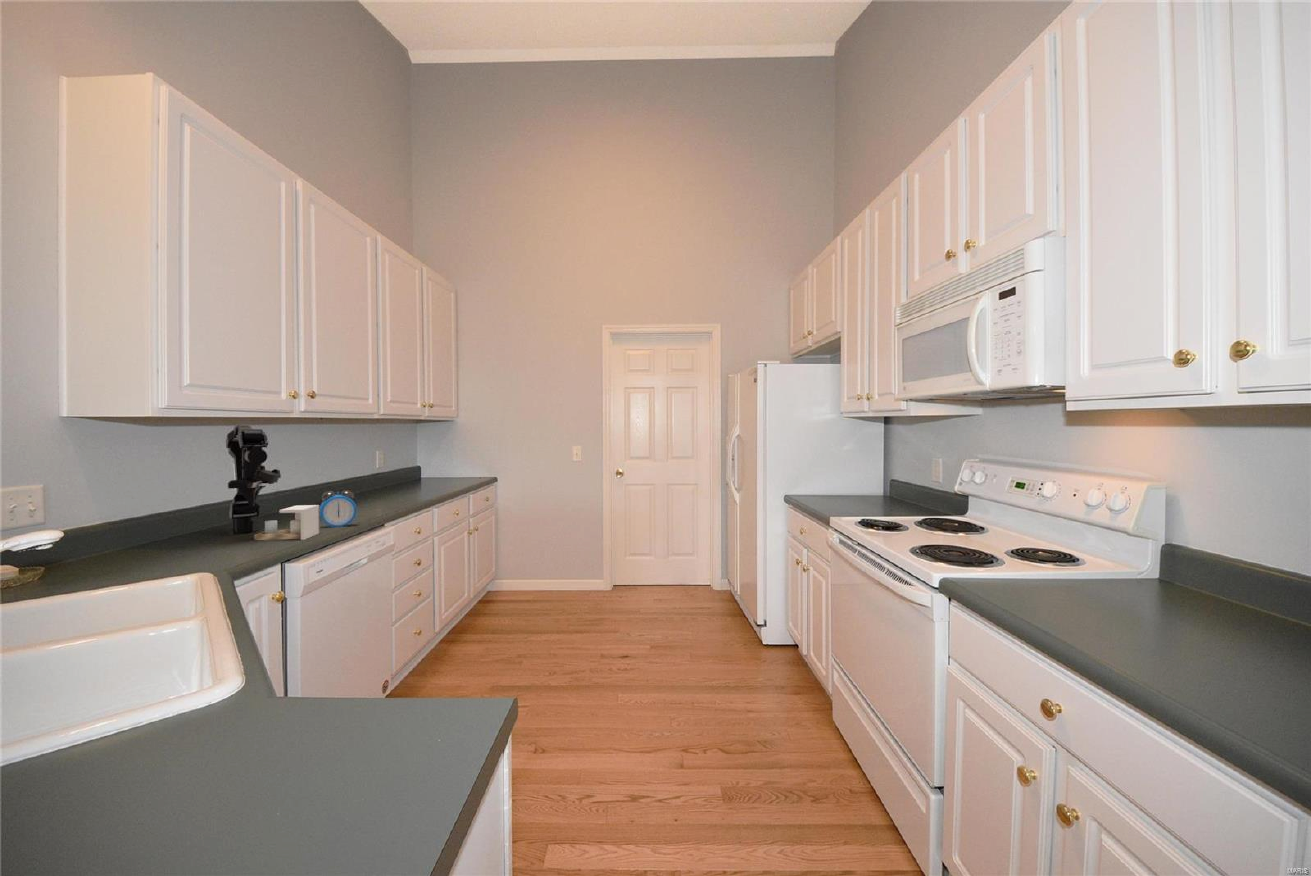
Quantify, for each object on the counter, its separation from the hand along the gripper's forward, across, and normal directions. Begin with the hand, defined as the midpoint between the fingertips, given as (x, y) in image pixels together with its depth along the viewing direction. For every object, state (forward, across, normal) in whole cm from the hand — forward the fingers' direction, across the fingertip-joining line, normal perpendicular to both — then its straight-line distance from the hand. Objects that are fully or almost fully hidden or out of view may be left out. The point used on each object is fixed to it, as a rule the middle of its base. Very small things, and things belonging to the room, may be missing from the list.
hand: (252, 505), depth 197 cm
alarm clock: (+13, +24, -20) cm, 33 cm away
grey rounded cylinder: (+12, 0, -6) cm, 13 cm away
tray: (+12, 0, -10) cm, 16 cm away
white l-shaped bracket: (+12, 0, -16) cm, 20 cm away
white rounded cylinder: (+12, 0, -15) cm, 19 cm away
